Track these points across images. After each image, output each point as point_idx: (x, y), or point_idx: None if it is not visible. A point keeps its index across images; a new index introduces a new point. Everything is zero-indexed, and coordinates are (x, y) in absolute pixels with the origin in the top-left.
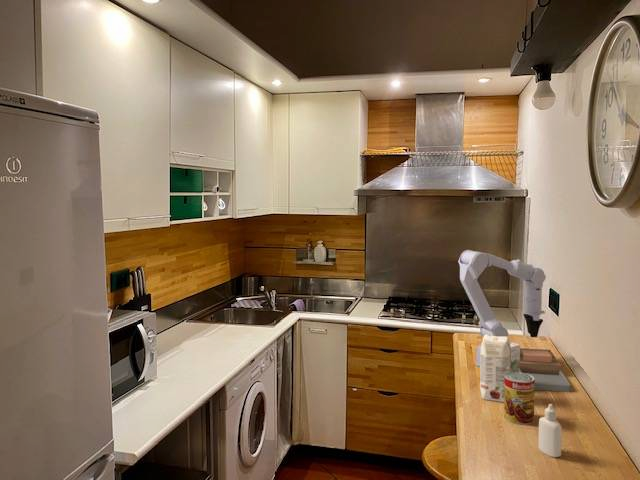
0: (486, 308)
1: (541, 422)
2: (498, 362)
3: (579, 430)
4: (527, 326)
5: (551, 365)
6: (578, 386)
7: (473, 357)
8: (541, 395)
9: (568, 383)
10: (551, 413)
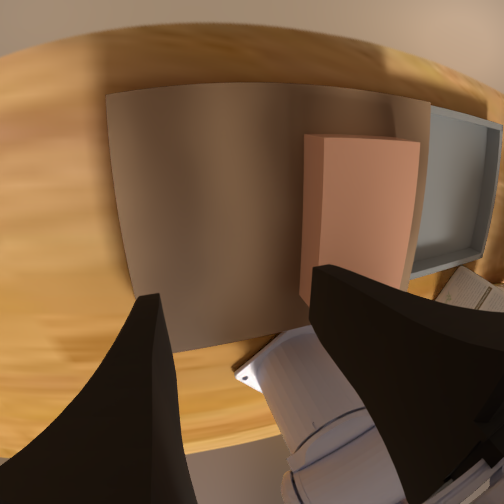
0: None
1: None
2: None
3: None
4: (179, 420)
5: (425, 148)
6: (457, 76)
7: (202, 426)
8: (496, 209)
9: (493, 126)
10: None
